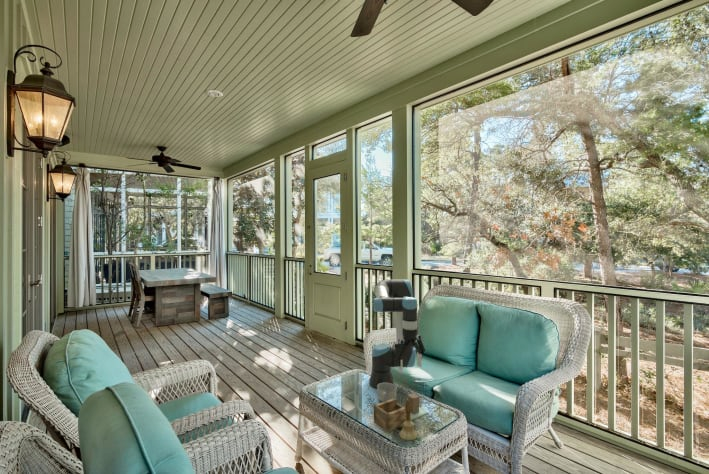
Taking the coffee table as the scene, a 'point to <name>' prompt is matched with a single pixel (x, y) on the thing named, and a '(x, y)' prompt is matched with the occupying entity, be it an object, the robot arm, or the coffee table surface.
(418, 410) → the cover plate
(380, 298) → the robot arm
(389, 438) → the coffee table surface
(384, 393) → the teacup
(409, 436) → the hand bell
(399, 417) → the open box
